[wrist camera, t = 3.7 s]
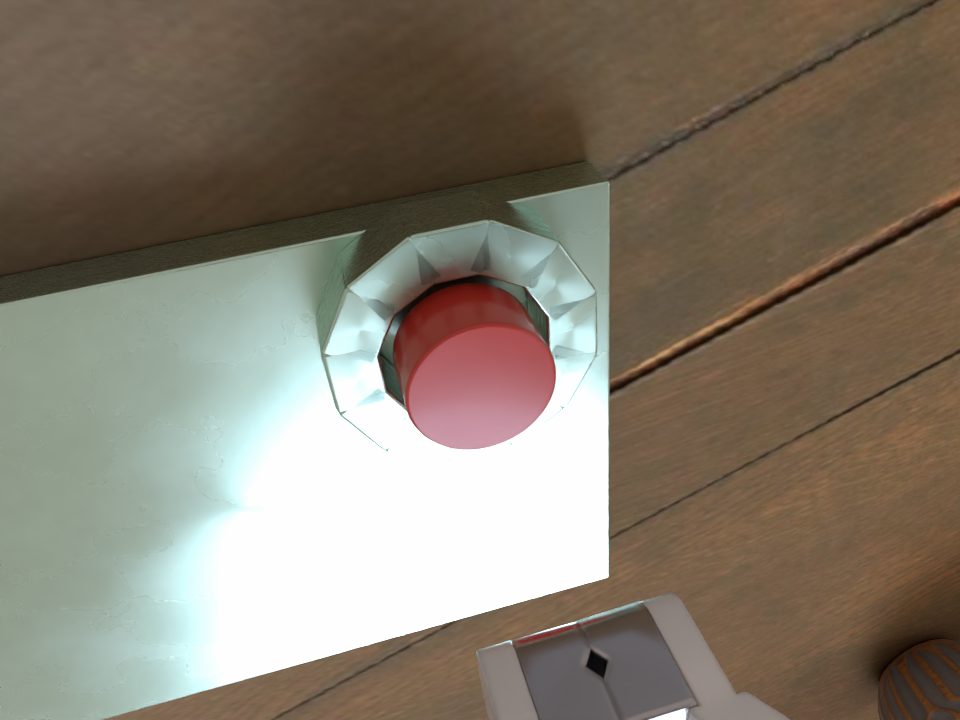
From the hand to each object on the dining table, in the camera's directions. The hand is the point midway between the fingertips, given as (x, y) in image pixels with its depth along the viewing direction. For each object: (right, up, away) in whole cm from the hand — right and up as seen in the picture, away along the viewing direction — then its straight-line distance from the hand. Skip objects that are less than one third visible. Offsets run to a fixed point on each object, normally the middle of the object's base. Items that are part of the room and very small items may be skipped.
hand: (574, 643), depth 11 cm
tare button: (-2, +4, +6) cm, 8 cm away
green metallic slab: (-8, +1, +10) cm, 12 cm away
